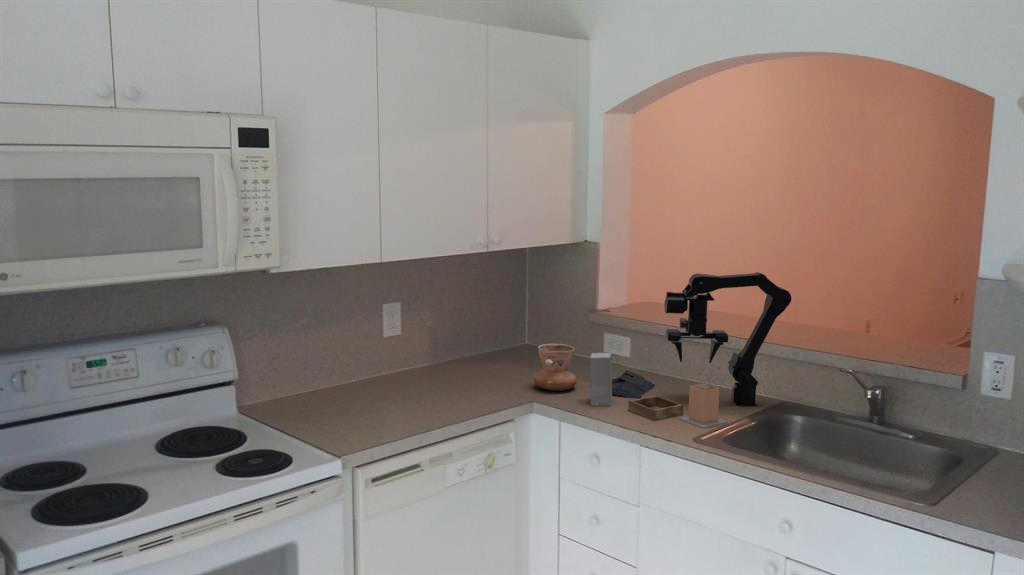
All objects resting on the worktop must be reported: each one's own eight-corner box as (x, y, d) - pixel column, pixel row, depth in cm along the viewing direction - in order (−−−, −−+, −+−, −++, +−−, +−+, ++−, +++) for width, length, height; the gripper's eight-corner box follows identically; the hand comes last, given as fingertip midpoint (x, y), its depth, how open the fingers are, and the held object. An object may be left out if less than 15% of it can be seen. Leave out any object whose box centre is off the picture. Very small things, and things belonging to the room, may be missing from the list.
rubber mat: (702, 415, 243) (702, 412, 242) (727, 424, 234) (727, 421, 234) (678, 420, 237) (678, 417, 237) (703, 429, 229) (703, 427, 229)
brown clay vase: (567, 397, 260) (569, 354, 258) (525, 391, 265) (527, 349, 263) (583, 384, 277) (585, 344, 275) (544, 379, 282) (545, 339, 280)
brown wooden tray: (656, 406, 251) (656, 395, 251) (682, 416, 242) (683, 404, 241) (628, 411, 245) (628, 400, 244) (654, 422, 235) (654, 410, 235)
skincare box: (610, 407, 249) (612, 358, 247) (587, 406, 250) (589, 356, 248) (612, 400, 257) (614, 352, 255) (590, 398, 259) (591, 350, 256)
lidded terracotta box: (702, 415, 240) (704, 382, 238) (717, 420, 235) (719, 387, 233) (688, 418, 237) (689, 385, 235) (703, 424, 232) (704, 390, 230)
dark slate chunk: (596, 397, 262) (597, 383, 261) (613, 381, 282) (614, 368, 282) (642, 402, 257) (643, 388, 256) (657, 385, 277) (657, 372, 276)
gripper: (722, 310, 260) (719, 357, 262) (664, 308, 261) (662, 355, 263) (729, 316, 249) (727, 365, 251) (669, 315, 250) (667, 363, 252)
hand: (695, 362), depth 255 cm, fingers open, 9 cm apart
